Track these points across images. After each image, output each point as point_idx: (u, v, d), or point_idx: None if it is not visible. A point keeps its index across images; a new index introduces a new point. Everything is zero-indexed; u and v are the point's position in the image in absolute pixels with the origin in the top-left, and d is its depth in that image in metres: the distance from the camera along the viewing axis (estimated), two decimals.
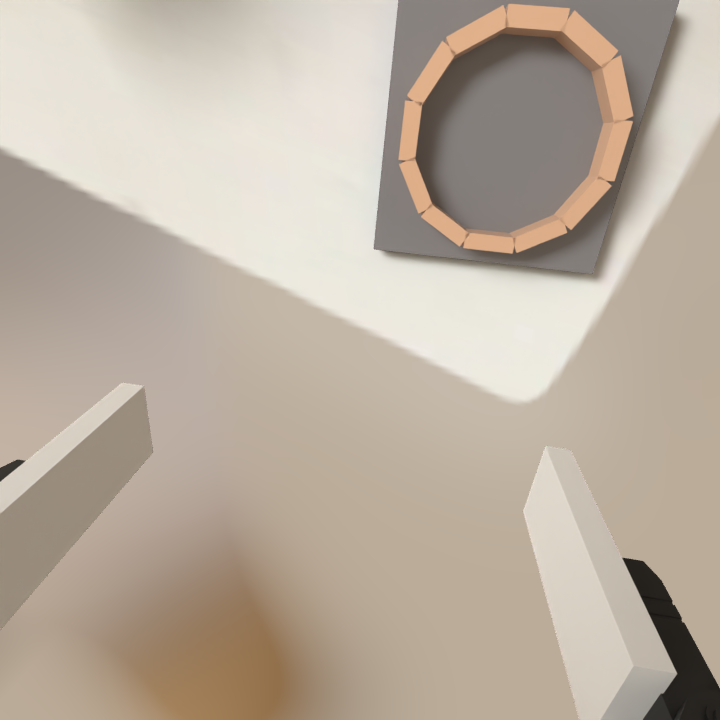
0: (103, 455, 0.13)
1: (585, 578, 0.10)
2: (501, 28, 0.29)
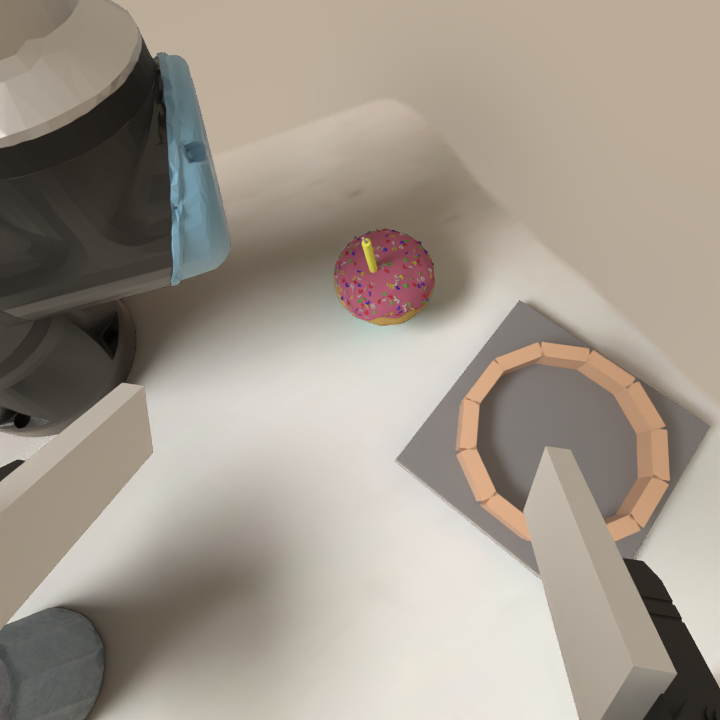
0: (103, 455, 0.13)
1: (585, 578, 0.10)
2: (478, 407, 0.36)
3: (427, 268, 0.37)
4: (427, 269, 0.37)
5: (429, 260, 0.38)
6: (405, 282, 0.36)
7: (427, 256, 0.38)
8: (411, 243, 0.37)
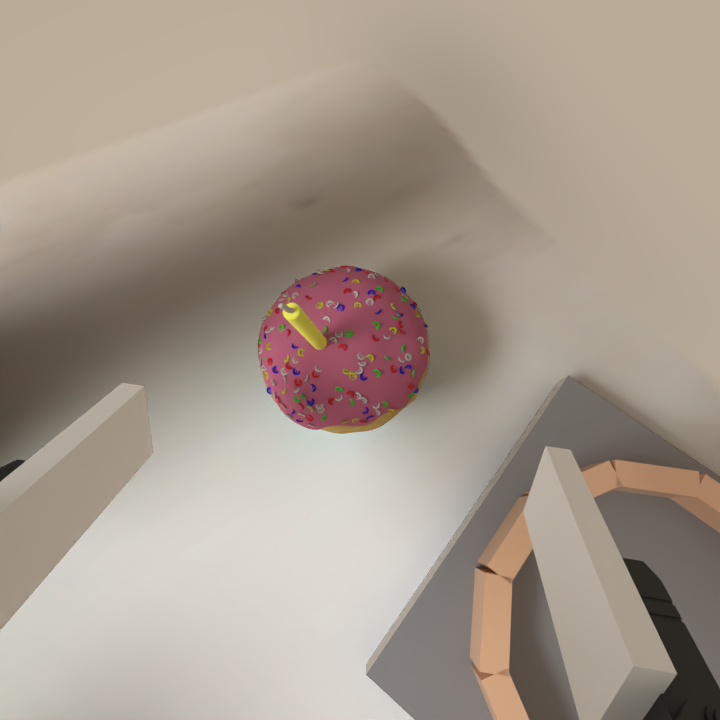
0: (103, 455, 0.13)
1: (585, 578, 0.10)
2: (510, 588, 0.20)
3: (416, 336, 0.21)
4: (416, 338, 0.21)
5: (419, 320, 0.22)
6: (376, 366, 0.20)
7: (416, 314, 0.22)
8: (388, 293, 0.21)
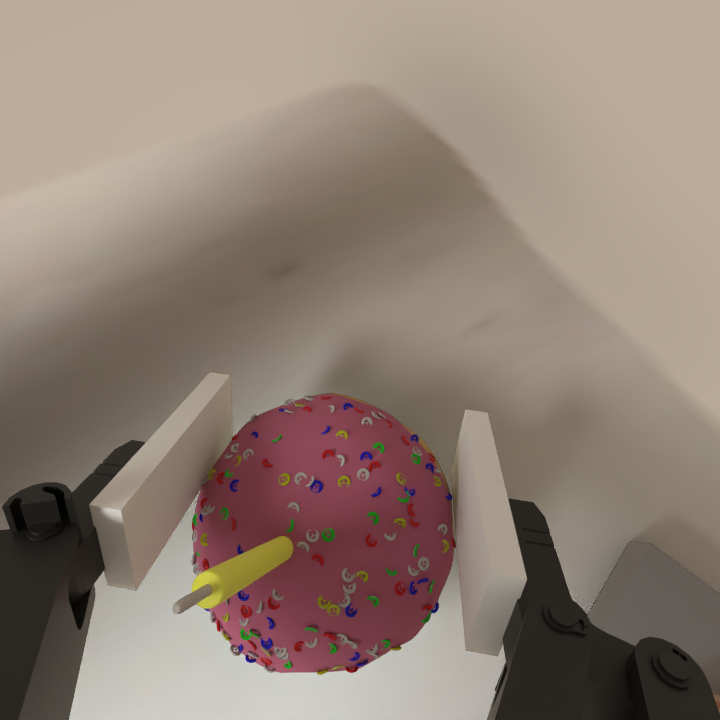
0: (203, 437, 0.14)
1: (475, 513, 0.12)
2: None
3: (436, 525, 0.14)
4: (436, 528, 0.14)
5: (440, 492, 0.14)
6: (373, 589, 0.12)
7: (435, 481, 0.14)
8: (392, 453, 0.14)
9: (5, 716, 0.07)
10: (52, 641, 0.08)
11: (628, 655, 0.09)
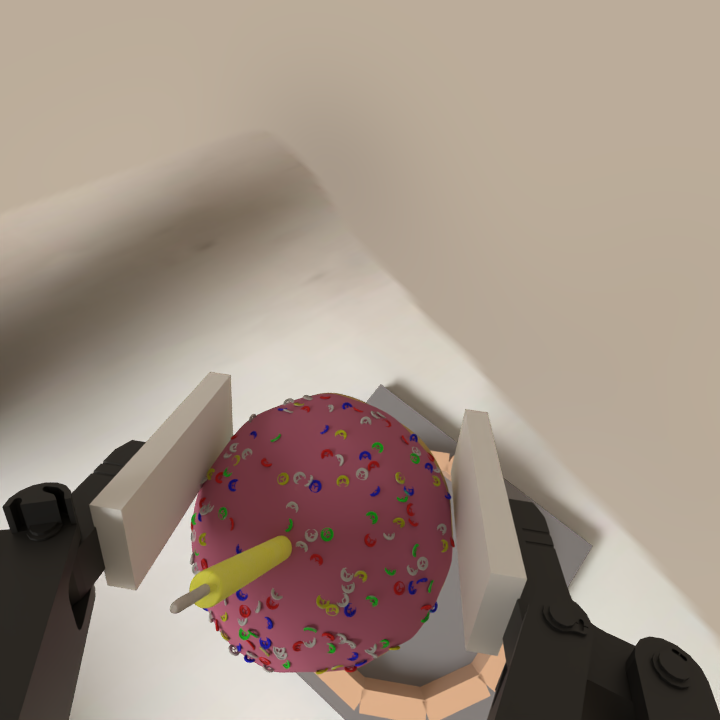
0: (203, 437, 0.14)
1: (475, 513, 0.12)
2: None
3: (435, 525, 0.13)
4: (435, 527, 0.14)
5: (439, 491, 0.14)
6: (372, 589, 0.12)
7: (434, 481, 0.14)
8: (392, 453, 0.14)
9: (5, 716, 0.07)
10: (52, 641, 0.08)
11: (628, 655, 0.09)
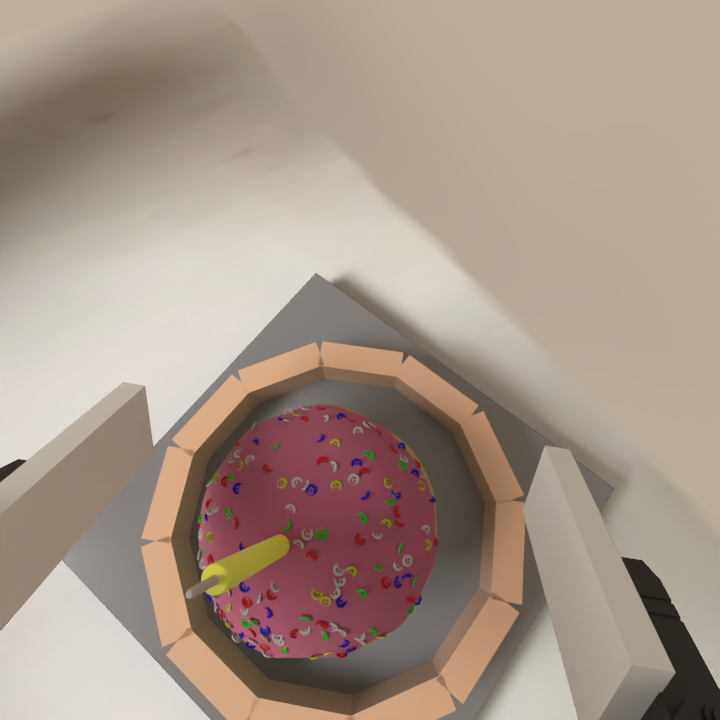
0: (104, 455, 0.13)
1: (584, 577, 0.10)
2: (190, 461, 0.20)
3: (419, 526, 0.15)
4: (419, 528, 0.15)
5: (424, 495, 0.16)
6: (361, 583, 0.14)
7: (419, 486, 0.16)
8: (381, 460, 0.15)
9: None
10: None
11: None
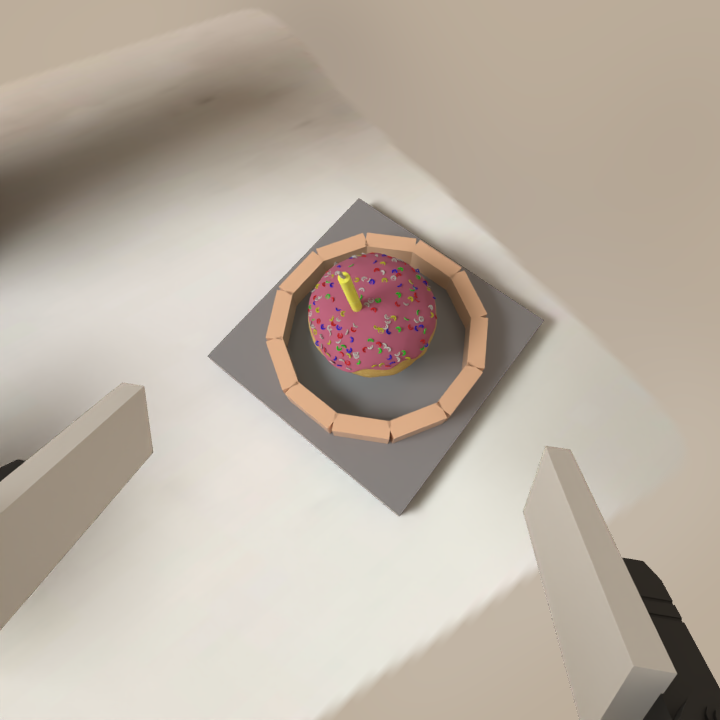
0: (103, 455, 0.13)
1: (585, 578, 0.10)
2: (290, 297, 0.33)
3: (427, 305, 0.28)
4: (427, 306, 0.28)
5: (430, 293, 0.29)
6: (398, 324, 0.27)
7: (427, 288, 0.29)
8: (407, 272, 0.29)
9: None
10: None
11: None
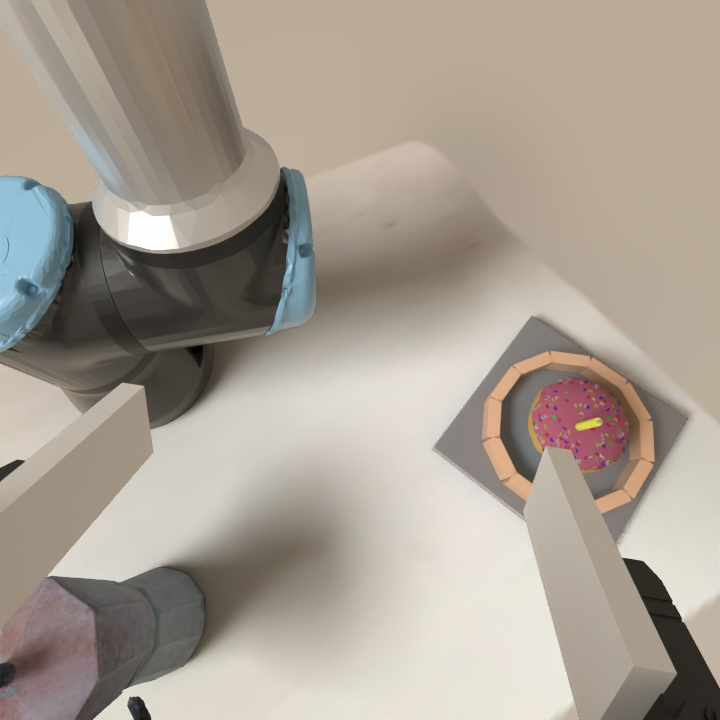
0: (103, 455, 0.13)
1: (585, 578, 0.10)
2: (500, 404, 0.44)
3: (624, 422, 0.39)
4: (624, 423, 0.39)
5: (623, 412, 0.40)
6: (609, 440, 0.38)
7: (621, 408, 0.40)
8: (608, 398, 0.40)
9: None
10: None
11: None
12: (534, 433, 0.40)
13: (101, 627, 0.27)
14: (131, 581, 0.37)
